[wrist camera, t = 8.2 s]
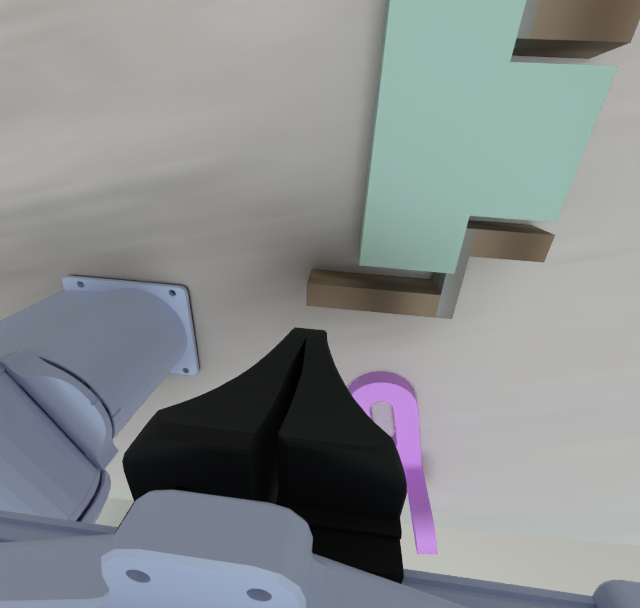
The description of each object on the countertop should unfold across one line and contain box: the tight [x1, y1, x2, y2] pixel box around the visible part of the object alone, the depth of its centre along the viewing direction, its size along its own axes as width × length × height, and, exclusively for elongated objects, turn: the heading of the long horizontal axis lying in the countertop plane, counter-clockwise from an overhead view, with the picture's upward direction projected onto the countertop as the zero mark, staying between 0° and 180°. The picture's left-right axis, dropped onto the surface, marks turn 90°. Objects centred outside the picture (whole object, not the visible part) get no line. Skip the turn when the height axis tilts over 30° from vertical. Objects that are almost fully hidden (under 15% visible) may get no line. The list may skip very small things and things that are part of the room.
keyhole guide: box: [307, 0, 640, 319], centre depth 16 cm, size 13×19×2 cm
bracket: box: [348, 372, 437, 554], centre depth 24 cm, size 13×6×7 cm, turn 10°
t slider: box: [359, 0, 617, 274], centre depth 16 cm, size 9×12×4 cm
